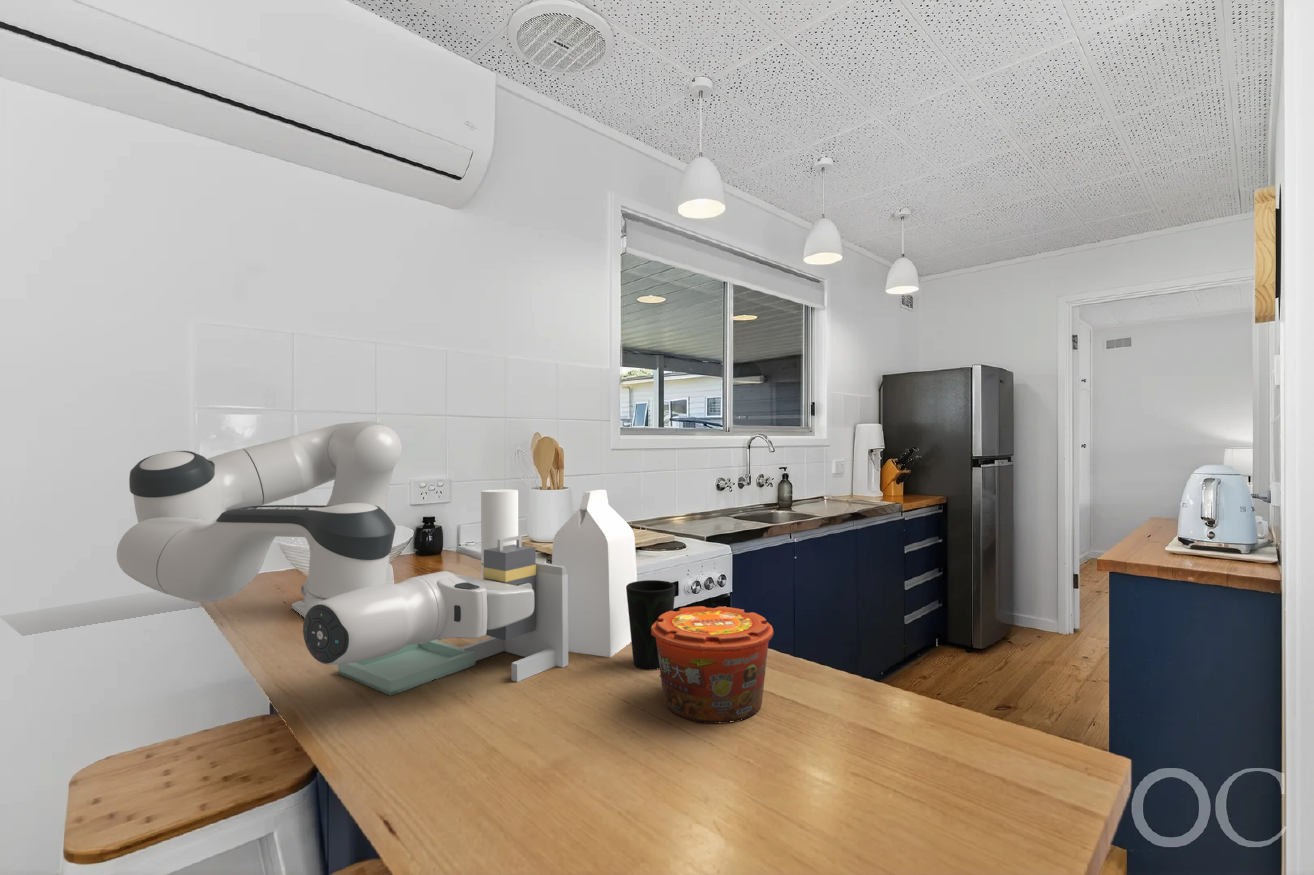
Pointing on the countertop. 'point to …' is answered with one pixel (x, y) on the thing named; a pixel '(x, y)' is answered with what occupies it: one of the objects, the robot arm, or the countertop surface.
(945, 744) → the countertop surface
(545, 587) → the dock
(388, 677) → the tray
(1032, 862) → the countertop surface
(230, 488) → the robot arm
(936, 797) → the countertop surface
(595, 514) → the milk
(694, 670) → the food container
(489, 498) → the cylindrical container
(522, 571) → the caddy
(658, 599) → the cup
